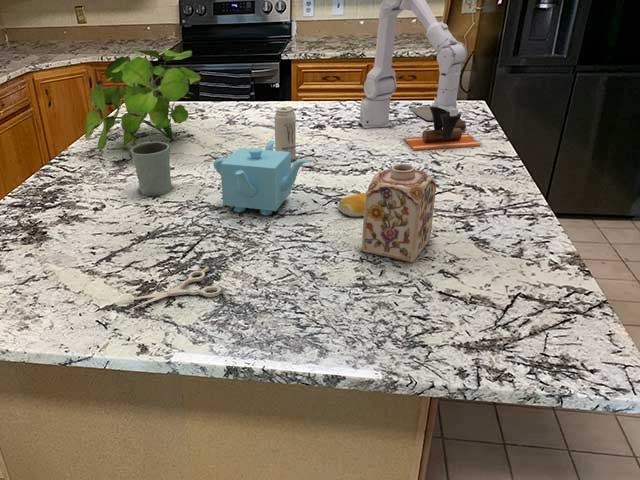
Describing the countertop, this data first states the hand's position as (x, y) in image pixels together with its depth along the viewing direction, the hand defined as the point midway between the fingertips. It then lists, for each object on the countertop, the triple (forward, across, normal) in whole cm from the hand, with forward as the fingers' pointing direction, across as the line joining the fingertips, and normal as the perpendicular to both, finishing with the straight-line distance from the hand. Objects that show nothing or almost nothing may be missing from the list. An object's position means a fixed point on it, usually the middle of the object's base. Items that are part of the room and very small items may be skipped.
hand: (442, 133), depth 186 cm
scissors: (+3, +77, -81) cm, 112 cm away
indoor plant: (+3, -21, -91) cm, 94 cm away
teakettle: (+3, +38, -60) cm, 71 cm away
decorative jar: (+3, +65, -33) cm, 73 cm away
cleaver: (+3, -23, +8) cm, 25 cm away
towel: (+3, 0, 0) cm, 3 cm away
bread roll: (+3, +45, -37) cm, 58 cm away
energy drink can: (+3, +5, -49) cm, 49 cm away
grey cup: (+3, +21, -87) cm, 90 cm away
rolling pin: (+1, 0, 0) cm, 1 cm away
